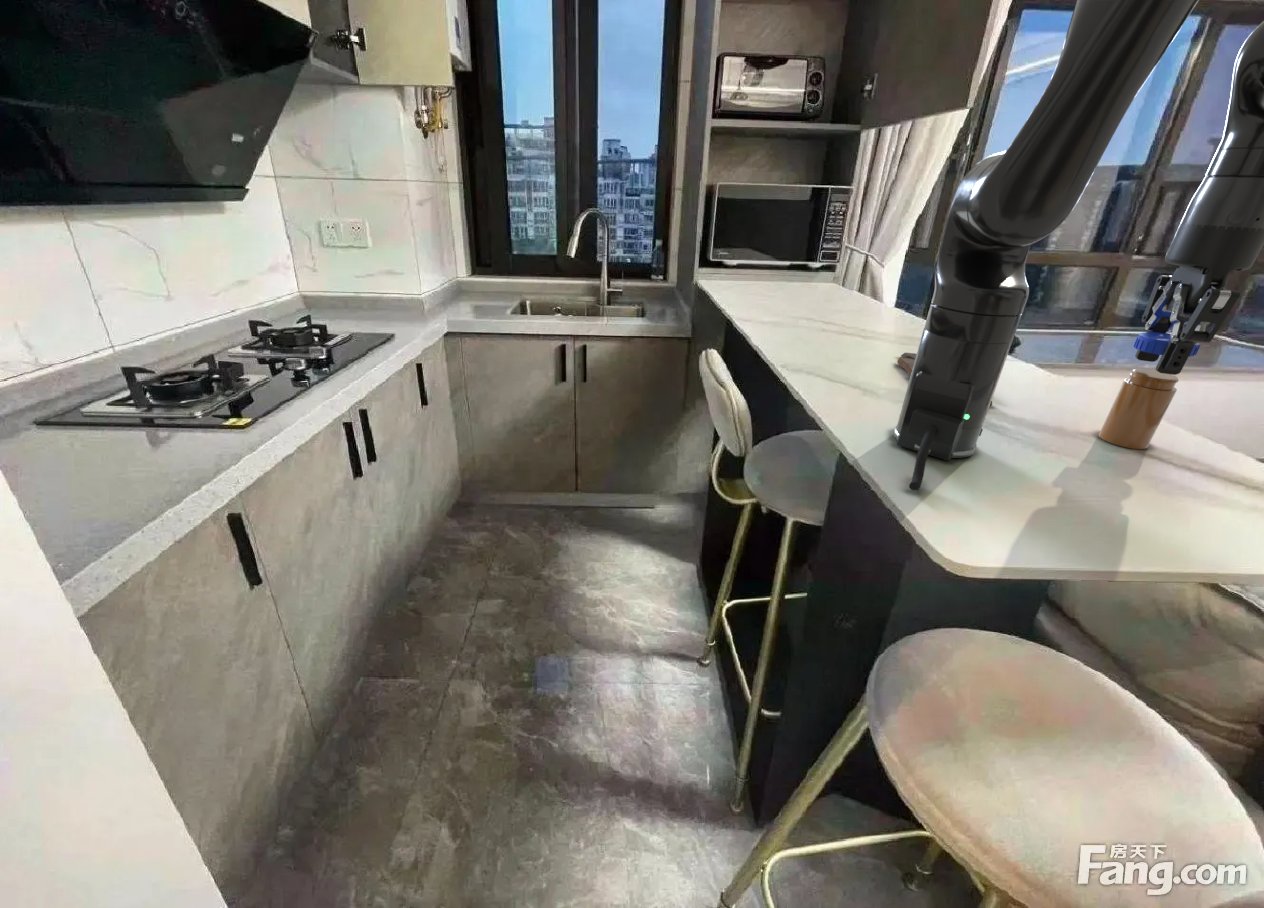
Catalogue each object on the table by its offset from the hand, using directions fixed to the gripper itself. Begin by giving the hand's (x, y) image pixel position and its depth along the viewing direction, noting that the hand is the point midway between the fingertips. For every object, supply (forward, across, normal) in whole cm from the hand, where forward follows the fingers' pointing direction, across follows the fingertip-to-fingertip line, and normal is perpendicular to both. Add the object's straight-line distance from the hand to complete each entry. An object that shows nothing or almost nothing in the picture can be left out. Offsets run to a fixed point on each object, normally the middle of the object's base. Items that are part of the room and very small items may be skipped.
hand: (1155, 365), depth 69 cm
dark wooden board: (+11, +17, +21) cm, 29 cm away
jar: (+10, 0, 0) cm, 10 cm away
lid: (-3, 0, 0) cm, 3 cm away
